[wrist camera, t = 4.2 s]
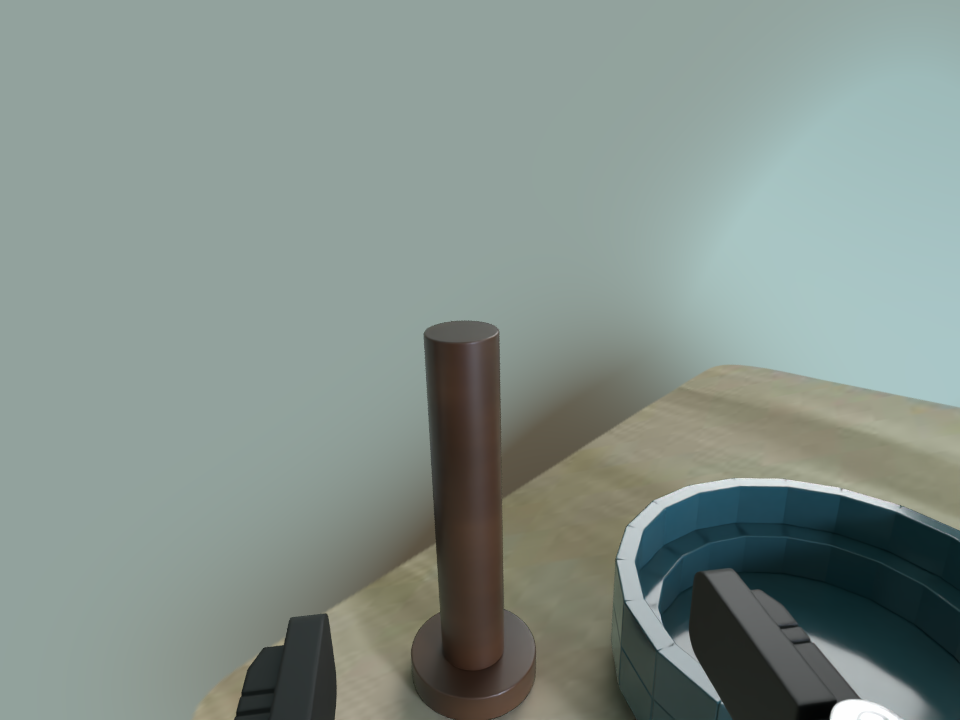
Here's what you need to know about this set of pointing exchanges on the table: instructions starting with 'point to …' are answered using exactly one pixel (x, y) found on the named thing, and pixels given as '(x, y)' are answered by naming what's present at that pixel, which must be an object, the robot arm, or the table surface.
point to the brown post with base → (469, 536)
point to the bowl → (792, 592)
